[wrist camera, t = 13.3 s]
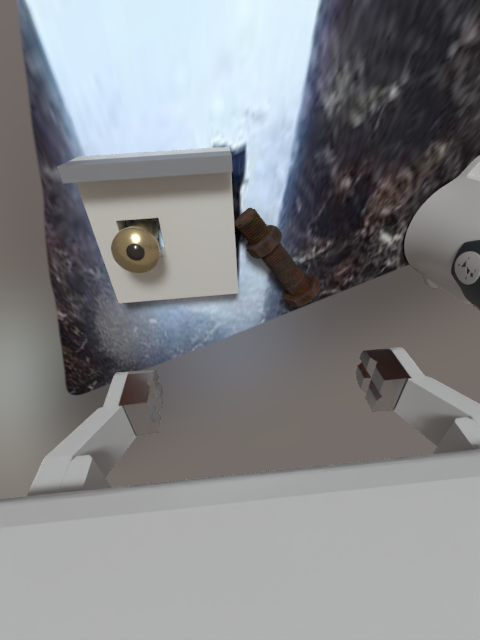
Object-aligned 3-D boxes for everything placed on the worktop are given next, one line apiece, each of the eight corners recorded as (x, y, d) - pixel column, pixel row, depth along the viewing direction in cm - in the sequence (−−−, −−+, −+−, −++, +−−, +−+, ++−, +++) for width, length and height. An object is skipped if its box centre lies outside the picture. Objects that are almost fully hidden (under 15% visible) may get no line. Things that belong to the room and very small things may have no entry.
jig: (228, 146, 34) (231, 155, 29) (236, 283, 45) (240, 305, 40) (78, 156, 34) (56, 166, 29) (123, 292, 45) (113, 315, 40)
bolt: (245, 203, 40) (303, 279, 47) (220, 230, 40) (282, 302, 47) (267, 198, 35) (328, 284, 42) (239, 228, 35) (306, 310, 42)
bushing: (157, 207, 38) (150, 224, 32) (170, 246, 41) (165, 268, 35) (117, 216, 38) (102, 234, 32) (132, 254, 41) (122, 277, 35)
